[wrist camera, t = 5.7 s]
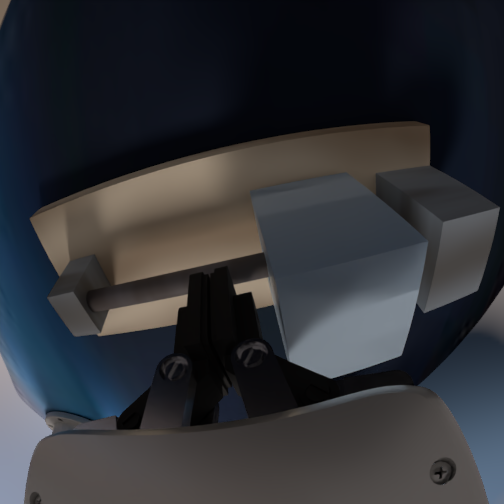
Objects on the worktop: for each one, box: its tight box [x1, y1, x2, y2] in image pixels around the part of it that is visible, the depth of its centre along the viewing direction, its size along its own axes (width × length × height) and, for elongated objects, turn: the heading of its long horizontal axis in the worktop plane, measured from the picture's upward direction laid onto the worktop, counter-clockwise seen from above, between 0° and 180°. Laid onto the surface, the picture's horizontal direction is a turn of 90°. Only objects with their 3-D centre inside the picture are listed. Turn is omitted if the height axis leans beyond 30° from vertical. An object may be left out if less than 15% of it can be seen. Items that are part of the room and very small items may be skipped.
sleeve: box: [250, 172, 428, 379], centre depth 12 cm, size 6×5×7 cm
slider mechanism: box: [30, 121, 500, 337], centre depth 14 cm, size 10×24×8 cm, turn 101°
